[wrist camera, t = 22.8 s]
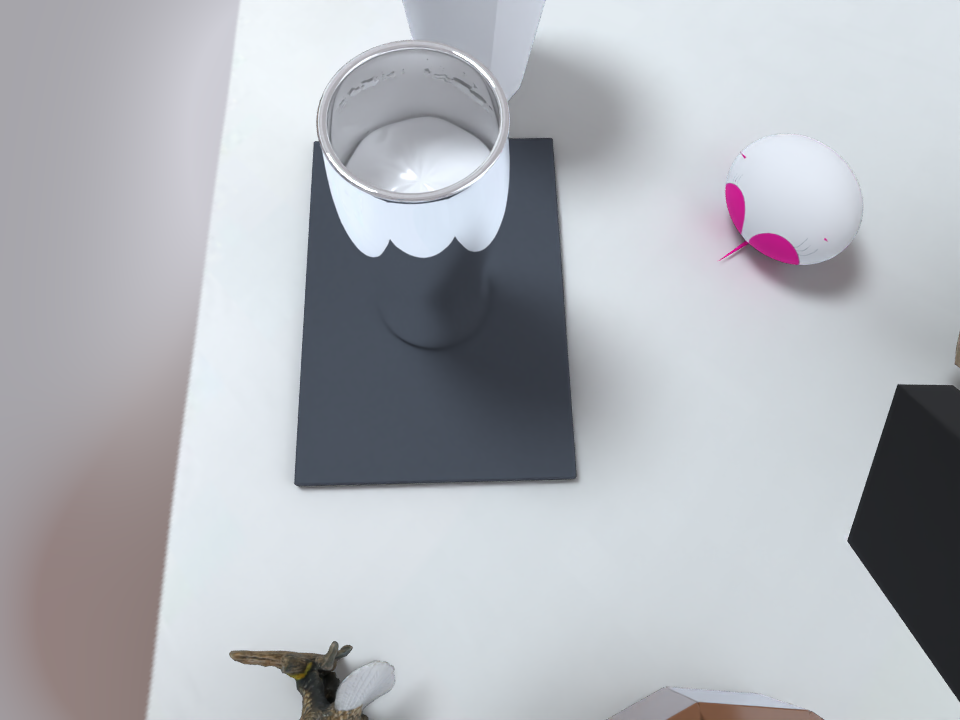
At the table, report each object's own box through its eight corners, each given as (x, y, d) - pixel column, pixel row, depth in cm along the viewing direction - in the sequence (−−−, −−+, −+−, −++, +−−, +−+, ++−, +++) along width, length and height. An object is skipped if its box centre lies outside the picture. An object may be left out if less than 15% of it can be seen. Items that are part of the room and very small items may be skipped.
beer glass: (489, 232, 39) (500, 24, 25) (508, 348, 37) (531, 193, 23) (364, 246, 39) (303, 44, 25) (376, 365, 37) (316, 218, 22)
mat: (575, 479, 35) (576, 477, 35) (296, 486, 35) (293, 484, 35) (551, 143, 42) (552, 137, 41) (315, 147, 42) (313, 140, 41)
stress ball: (688, 225, 44) (661, 205, 38) (797, 129, 41) (786, 91, 35) (770, 317, 42) (755, 311, 36) (891, 222, 39) (897, 198, 33)
